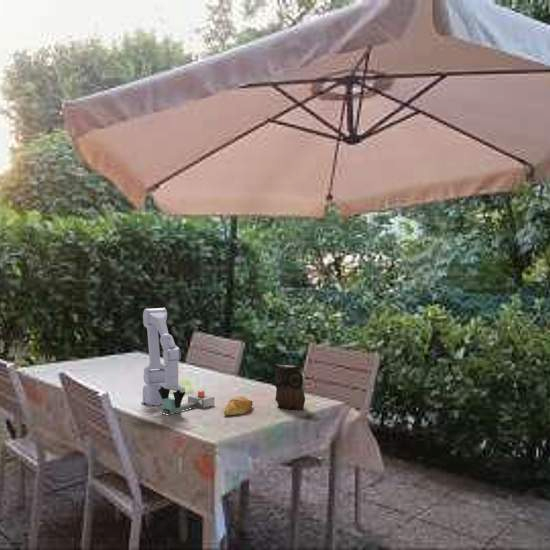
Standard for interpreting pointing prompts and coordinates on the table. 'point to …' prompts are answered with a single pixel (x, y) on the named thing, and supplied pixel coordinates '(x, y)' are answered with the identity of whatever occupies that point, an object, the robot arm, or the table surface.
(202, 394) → the push button
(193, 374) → the table surface
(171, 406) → the block
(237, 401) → the croissant
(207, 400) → the block with square hole
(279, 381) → the owl
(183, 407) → the rail
